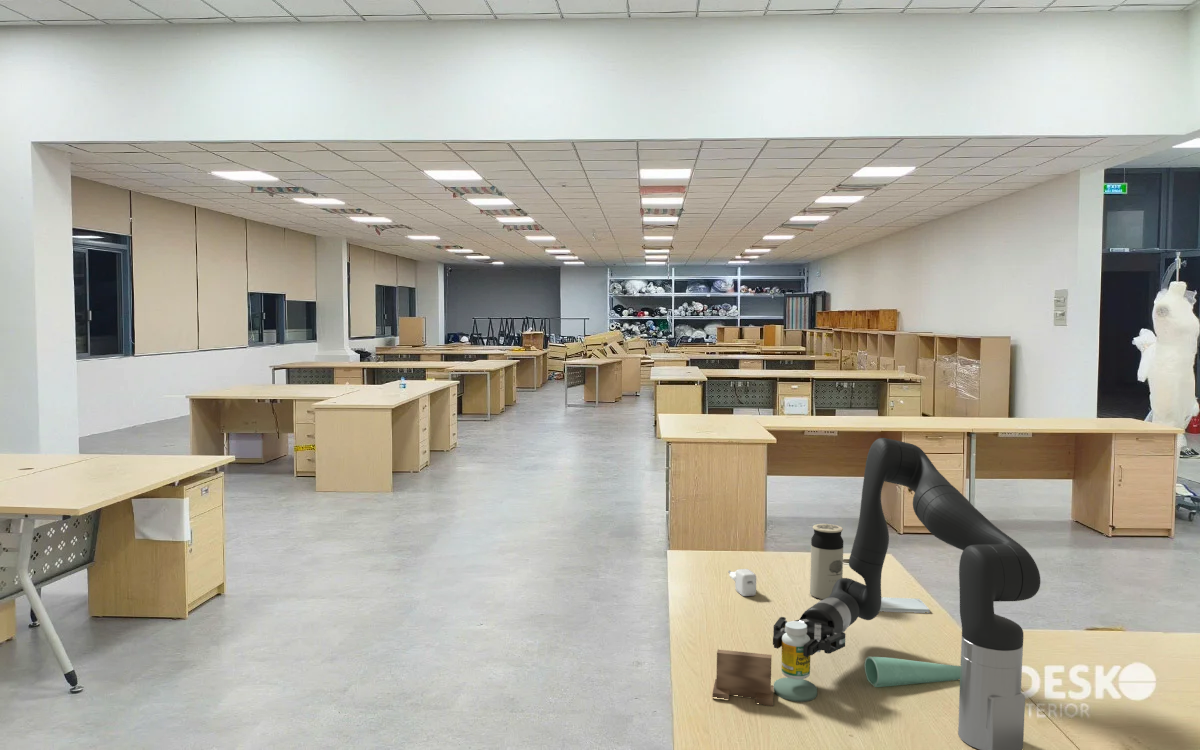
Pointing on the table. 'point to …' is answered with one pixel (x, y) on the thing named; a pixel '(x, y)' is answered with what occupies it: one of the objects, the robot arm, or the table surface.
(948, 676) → the long green cone
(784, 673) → the supplement bottle
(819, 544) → the travel mug
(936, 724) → the table surface
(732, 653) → the divider
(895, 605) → the hard drive
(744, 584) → the power adapter
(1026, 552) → the robot arm
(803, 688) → the pad
